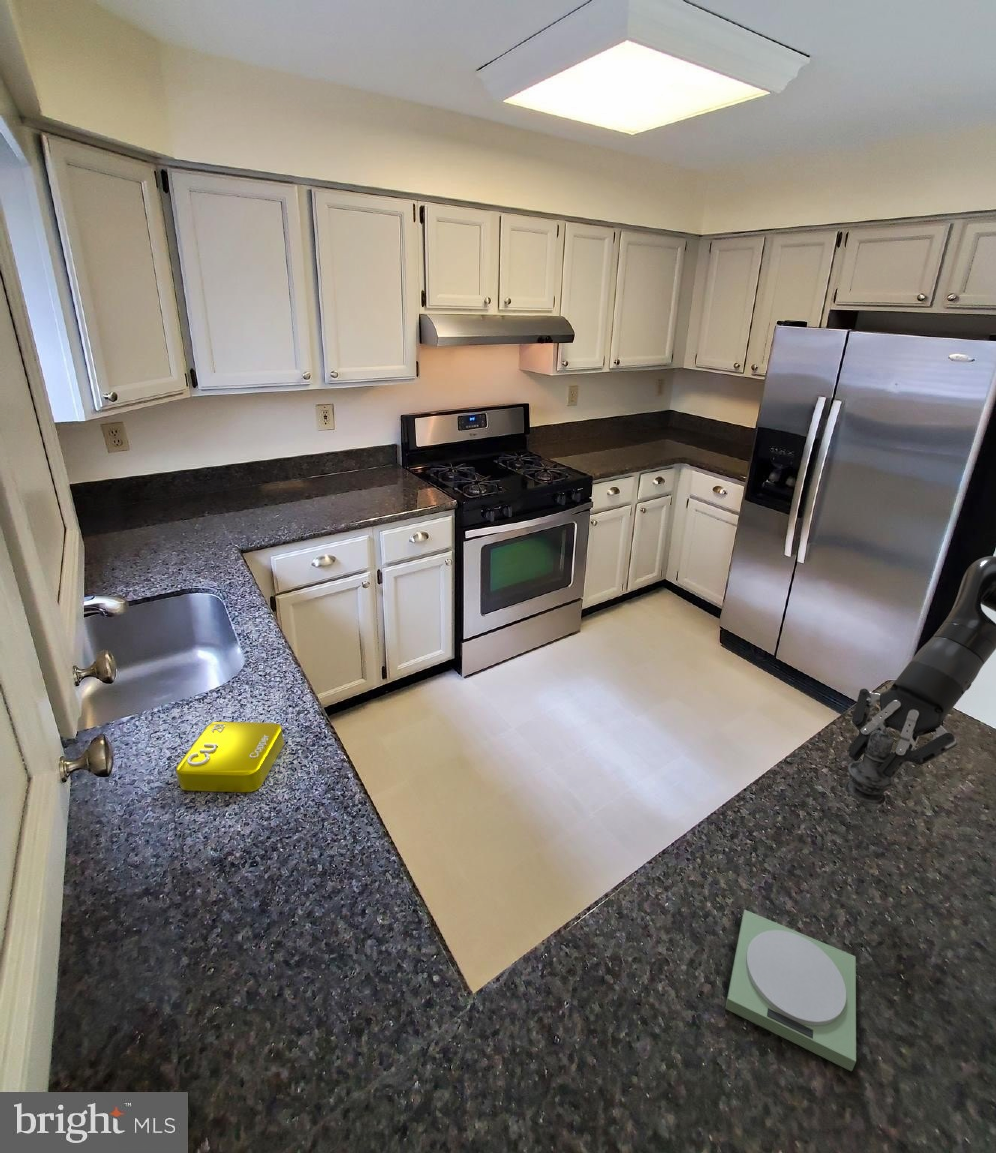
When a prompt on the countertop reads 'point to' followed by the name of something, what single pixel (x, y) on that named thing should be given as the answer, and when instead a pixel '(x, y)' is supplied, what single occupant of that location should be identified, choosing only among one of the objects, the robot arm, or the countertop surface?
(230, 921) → the countertop surface
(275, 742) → the element tile
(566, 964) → the countertop surface
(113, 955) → the countertop surface
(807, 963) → the scale
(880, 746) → the chess piece
